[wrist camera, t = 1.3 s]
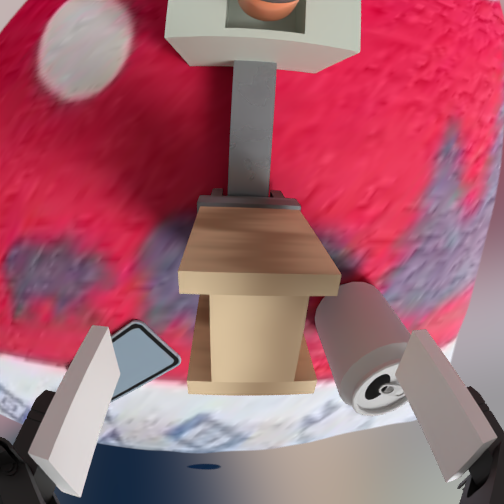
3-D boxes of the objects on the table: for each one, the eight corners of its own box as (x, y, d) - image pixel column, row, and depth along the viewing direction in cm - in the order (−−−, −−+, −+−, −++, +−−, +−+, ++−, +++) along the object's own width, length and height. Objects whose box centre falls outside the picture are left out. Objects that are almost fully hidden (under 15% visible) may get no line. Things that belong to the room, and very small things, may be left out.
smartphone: (185, 362, 33) (106, 405, 36) (185, 357, 34) (107, 400, 37) (136, 318, 31) (64, 371, 34) (138, 313, 32) (66, 367, 34)
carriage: (202, 267, 28) (182, 393, 15) (203, 187, 25) (170, 270, 12) (282, 269, 29) (319, 392, 15) (290, 191, 26) (348, 274, 13)
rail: (225, 262, 29) (225, 278, 26) (234, 66, 22) (234, 60, 20) (259, 263, 29) (262, 279, 27) (271, 68, 23) (276, 62, 20)
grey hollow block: (189, 66, 22) (164, 37, 13) (194, 11, 20) (173, -40, 11) (314, 73, 23) (360, 52, 14) (317, 20, 21) (360, -24, 12)
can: (326, 271, 30) (371, 354, 19) (390, 283, 31) (448, 357, 20) (303, 333, 33) (329, 423, 22) (364, 340, 34) (403, 420, 23)
